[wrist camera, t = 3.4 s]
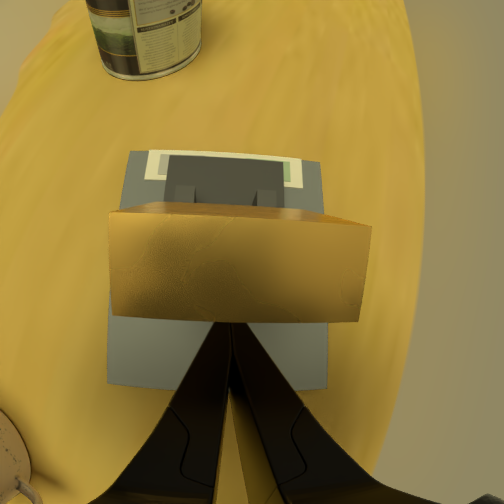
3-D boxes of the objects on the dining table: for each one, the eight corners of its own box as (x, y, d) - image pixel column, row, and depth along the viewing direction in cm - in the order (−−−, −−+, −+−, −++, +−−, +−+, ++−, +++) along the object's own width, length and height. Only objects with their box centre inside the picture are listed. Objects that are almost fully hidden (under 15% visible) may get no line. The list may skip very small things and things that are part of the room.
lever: (267, 237, 18) (358, 322, 6) (177, 233, 17) (112, 315, 6) (270, 201, 17) (371, 226, 6) (179, 197, 17) (109, 212, 5)
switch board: (320, 385, 20) (359, 402, 14) (112, 380, 18) (79, 397, 13) (315, 169, 24) (343, 126, 18) (133, 159, 22) (115, 110, 17)
